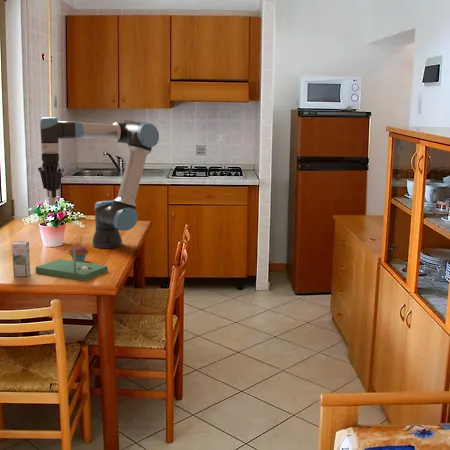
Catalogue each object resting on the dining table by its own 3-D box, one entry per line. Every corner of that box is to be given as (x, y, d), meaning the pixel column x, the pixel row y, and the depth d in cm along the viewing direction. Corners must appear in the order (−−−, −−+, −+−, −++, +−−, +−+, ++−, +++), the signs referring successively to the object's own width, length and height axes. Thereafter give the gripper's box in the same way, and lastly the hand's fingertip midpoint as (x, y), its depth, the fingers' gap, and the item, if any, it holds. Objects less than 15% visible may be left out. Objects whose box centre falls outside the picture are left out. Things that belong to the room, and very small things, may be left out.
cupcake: (80, 258, 297) (79, 233, 295) (92, 261, 292) (91, 236, 290) (65, 261, 291) (64, 236, 288) (77, 264, 285) (76, 239, 283)
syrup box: (30, 273, 270) (29, 240, 267) (27, 277, 264) (25, 243, 262) (17, 273, 270) (15, 240, 267) (13, 277, 264) (11, 243, 261)
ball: (85, 263, 271) (91, 268, 270) (83, 270, 273) (89, 274, 272) (80, 265, 268) (86, 270, 267) (77, 272, 269) (83, 277, 268)
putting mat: (60, 264, 286) (59, 232, 283) (107, 271, 275) (106, 239, 272) (35, 272, 272) (34, 239, 269) (84, 280, 261) (83, 246, 258)
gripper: (33, 152, 281) (35, 204, 285) (56, 153, 275) (58, 207, 280) (44, 151, 287) (46, 202, 292) (67, 152, 282) (69, 204, 286)
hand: (52, 204), depth 286 cm, fingers closed
